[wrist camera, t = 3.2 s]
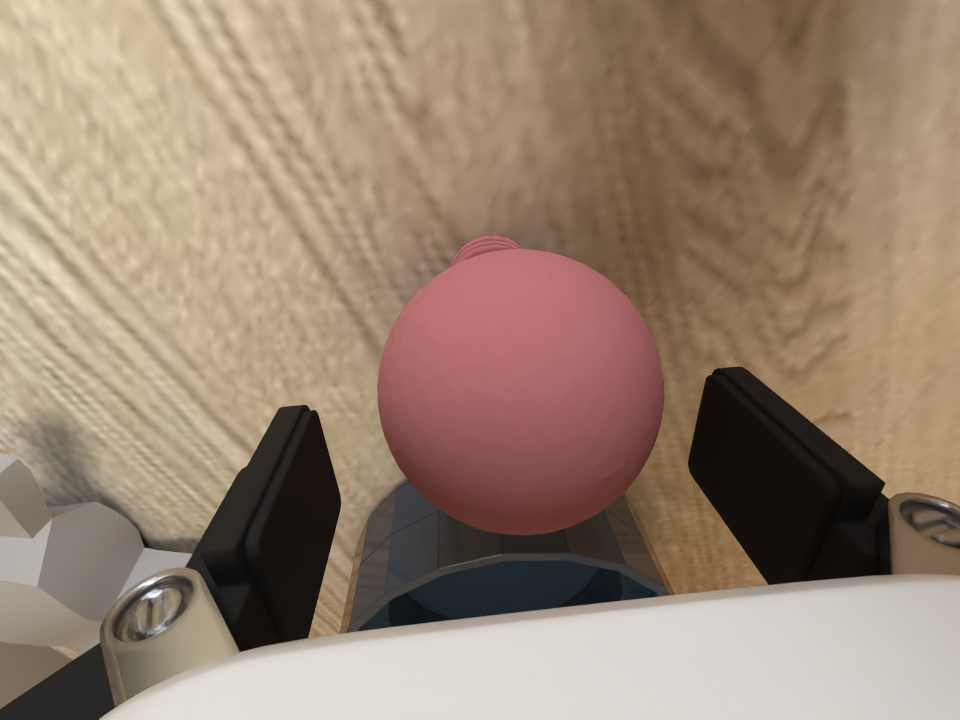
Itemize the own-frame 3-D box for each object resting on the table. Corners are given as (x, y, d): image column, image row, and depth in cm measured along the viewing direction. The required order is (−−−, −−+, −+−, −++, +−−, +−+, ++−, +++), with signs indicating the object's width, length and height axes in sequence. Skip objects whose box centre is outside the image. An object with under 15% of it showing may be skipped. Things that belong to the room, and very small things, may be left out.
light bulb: (470, 380, 22) (495, 639, 11) (367, 262, 18) (269, 469, 8) (601, 296, 20) (775, 507, 9) (512, 151, 17) (628, 229, 6)
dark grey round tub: (304, 577, 28) (269, 698, 22) (483, 392, 22) (497, 492, 16) (510, 658, 34) (523, 769, 28) (691, 530, 28) (753, 638, 22)
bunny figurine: (83, 701, 25) (-259, 578, 17) (129, 608, 29) (-124, 470, 21) (231, 658, 24) (-50, 503, 16) (258, 568, 28) (48, 405, 20)
